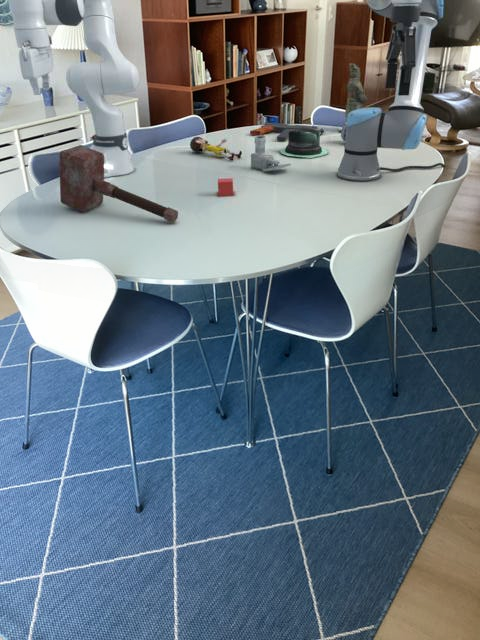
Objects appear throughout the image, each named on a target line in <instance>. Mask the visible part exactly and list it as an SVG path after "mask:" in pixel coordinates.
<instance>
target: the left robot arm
mask: <svg viewBox="0 0 480 640" xmlns="http://www.w3.org/2000/svg"><path fill="white" fill-rule="evenodd" d="M7 2H8V5H9V6H8V8H9V11H10V14H11V16H12V19H13V32H14V37H15V41H16V47H17V48H19V51H18V59H19V66H20V67H19V68H20V72H21V77H22V78H23V80H26V81H27V80H28V81H29V84H30V87H31V89H32V92H33V95H34V96H40V95H41V94H42V90H43V91H49V90H50V89H51V85H50V77H51V76H50V73H52V72H53V71H54V55H53V49H52V46H51V45H53V39H52V36H51V35H50V34H49V33H48V32H49V31H48V28H47V26H68V27H77V26H79V25H80V23H82V29H83V41H84V45H85V47H86V48H87V49H88V50H89V52H92V53H93V54H95V55H98V56H100V57H101V58H102V60H101V61H82V62H77V63H74V64H70V65H69V66H68V67H67V70H66V72H65V81H66V84H67V87H68V88H69V90H70V91H71V92H72V93H73V94H75V95H76V96H78V97H79V98H80V99H81V100H82V101H83V103H85V105H86V106H87V108H88V109H89V111H90V114H91V118H92V122H93V127H94V133H95V134H93V135H92V136H90V137H89V141H92V145H91V146H90V147H89V148H90V149H93V150H95V151H98V152H101V153H102V154H103V155H104V179H105V178H111V177H116V176H124V175H128V174H130V173H133V172H134V171H135V168H134V165H133V164H132V160H131V156H130V152H129V142H128V135H127V132H126V126H125V119H124V118H125V117H124V112H123V111H122V110H121V108H120V107H118V106H116V105H114V104H113V103H110V102H109V101H107V100H106V98H105V96H106V95H107V96H108V95H125V94H128V93H132V92H135V91H136V90H137V89H138V87H139V84H140V79H141V78H140V73H139V70H138V68H137V66H136V65H135V64H133V62H131V61H130V60H128V59H127V58H126V57H125V56H124V54H123V53H122V52H121V50H120V48H119V45H118V41H117V36H116V27H115V26H116V25H115V16H114V15H115V14H114V10H113V9H114V8H113V5H112V1H111V0H7ZM39 78H41V80H42V81H41V86H42V89H41V87H40V84H39Z"/></svg>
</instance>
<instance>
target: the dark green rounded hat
mask: <svg viewBox="0 0 480 640" xmlns="http://www.w3.org/2000/svg"><path fill="white" fill-rule="evenodd" d="M318 130H319V129H311V128H298V129H294V130H291V131H289V137H288V139H287V140H288V141H287V142H288V143H287V145H286V146H285V147H283V148H281V149H280V150H279V153H280V154H282V155H285V156H289V157H296V158H297V157H298V158H307V159H309V158H310V159H311V158H313V159H314V158H317V157H323V156H326V155H327V154H328V150H326V149H325V148H322V146H321V144H320V142H321V135H320V132H319V131H318Z"/></svg>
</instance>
